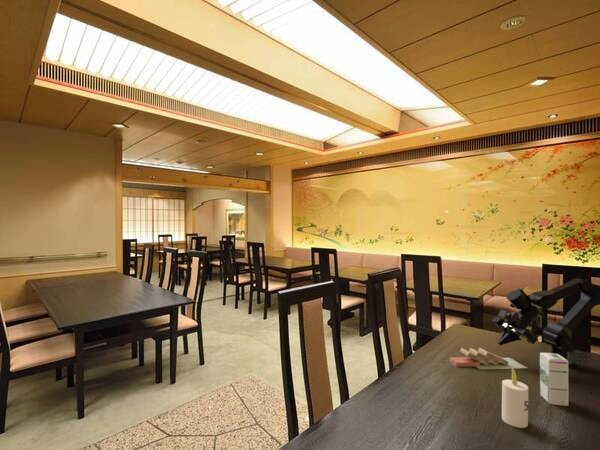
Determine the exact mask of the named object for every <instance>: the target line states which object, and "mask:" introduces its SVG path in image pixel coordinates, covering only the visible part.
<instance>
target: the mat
mask: <svg viewBox="0 0 600 450" xmlns="http://www.w3.org/2000/svg"><path fill="white" fill-rule="evenodd" d="M502 358H503V359H504V360H506V361H508V365H505V364H502V363H500V362H499V364H498V366H497V365H495V364H493V363H490V364H489V366H487V365H485V364H483V363H481V362H480V366H475V367H476V368H477V369H479V370H498V369H499V370H505V369H507V370H508V369H509V370H510V369H511V370H512V368H513V369H514V370H515V369H528V367H527V366H525V365H523V364H521V363H520V362H518V361H516V360H515V359H513V358H511V357H502Z"/></svg>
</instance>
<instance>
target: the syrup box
mask: <svg viewBox="0 0 600 450" xmlns="http://www.w3.org/2000/svg"><path fill="white" fill-rule="evenodd" d="M568 361H569V359H568V360H566V359H565V358H563V357H562V356H560V355H559V354H555V353H551V352H539V395H540V396H541V397H542V398H543V400H545V402H546V403H548V404H550V405H556V406H565V407H566V406H567V407H569V366H568Z"/></svg>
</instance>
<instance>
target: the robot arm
mask: <svg viewBox="0 0 600 450" xmlns="http://www.w3.org/2000/svg"><path fill="white" fill-rule="evenodd" d="M578 292H580V299H579V300H578V301H577V302H576V303H575V304H574V306H572V307H571V308H570V310H569V311H568V312H567V313H566V314H565V315H564V316H563V317H562V318H561V319H560V320H559V322H556V323H554V322H549V323H548V324H547V326H545V327H544V328H543V331H542V337H543V339H544V342H545V345H549V346H550V353H555V354H559V355H560V356H562V357H563V358H565V359H566V360H568V367H569V366H571V364H572V361H570V360H569V356H570V355H569V354H570V353H573V352H575V349H576V345H574V343H573V342H572V341H571V340H572V335H573V334H572V332H573V330H574V329H576V327H577V326H578V325H579V324H580V323H581V321H582V320H584V318H585V317H586V316H587V315H588V314H589V313H590V312H591V311H592V310H593V308H595V307H596V306H600V285H599V284H594V283H592V282H590V281H588V280H587V279H586V280H585V279H583V278H582V279H581V278H573V279H571V280H570V281H567V282H565V283H562V284H560V285H558V286H556V287H553V288H550V289H547V290H539V291H534V292H532V293H530V294H526V292H525V290H524V289H522V288H520V287H519V288H517V289H515V290H512V291H510V292H508V293H507V294H506V299H507V301H509V303H511V305H512V306H514V308H515V309H517V310H519V311H517V312H515V311H511V312H509V311H507V310H504V309H502V308H500V310H499V313H498V315H497V316H495V317H493V318H492V319H491V320H492V322H493V323H494V324H495V325H496V326H497V327H498V328H499V329H500V330H501V332H500V335H499V338H498V342H497V344H498V345H499V346H503V345H506V344H509V343H513V342H517V341H520V342H521V341H522V337H525V338H526V342H527V343H529V344H531V345H535V343H536V342H537V337H536V336H535V335H534V334H533V332H532V331H531V330H530V329H528V327H529V328H532V327H533V324H532V323H533V322H534V321H535V320H536V318H537V317H540V318H542V319H544V318H545V314H544V310H550V309H551V308H553V307H554V306H555V305H556V304H557V303H558V301H560V300H562V299H564V298H567V297H569V296H572V295H573V294H576V293H578ZM541 309H544V310H541Z"/></svg>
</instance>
